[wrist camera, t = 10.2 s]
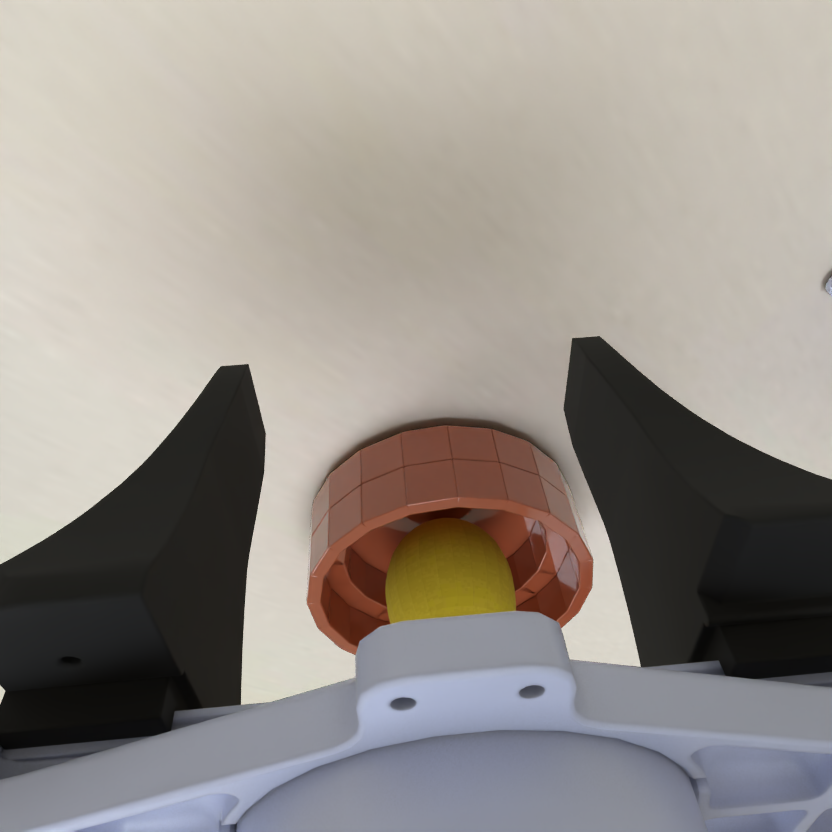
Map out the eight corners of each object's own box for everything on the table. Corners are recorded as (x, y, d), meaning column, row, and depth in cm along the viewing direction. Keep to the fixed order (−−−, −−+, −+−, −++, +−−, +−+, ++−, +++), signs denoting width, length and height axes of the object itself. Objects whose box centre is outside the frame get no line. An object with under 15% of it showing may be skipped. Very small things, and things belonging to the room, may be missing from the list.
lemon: (373, 555, 35) (379, 713, 28) (393, 476, 31) (404, 637, 25) (482, 562, 36) (510, 716, 29) (512, 486, 32) (551, 643, 26)
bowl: (619, 466, 32) (652, 545, 29) (483, 610, 39) (496, 688, 36) (380, 380, 28) (385, 461, 25) (274, 558, 35) (266, 641, 31)
